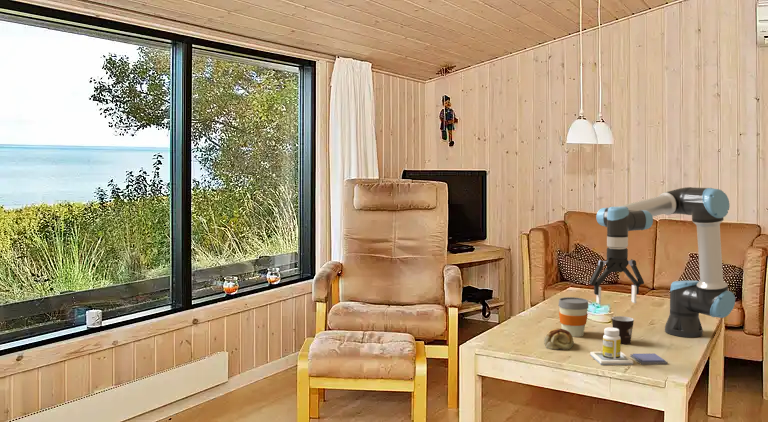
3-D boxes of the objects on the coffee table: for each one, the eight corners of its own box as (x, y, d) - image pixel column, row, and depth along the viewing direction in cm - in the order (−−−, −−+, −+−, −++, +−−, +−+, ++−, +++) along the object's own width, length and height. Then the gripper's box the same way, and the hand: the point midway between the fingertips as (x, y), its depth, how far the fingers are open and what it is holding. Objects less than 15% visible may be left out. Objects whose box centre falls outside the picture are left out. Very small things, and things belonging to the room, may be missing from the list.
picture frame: (620, 355, 259) (620, 351, 259) (633, 364, 247) (633, 360, 247) (590, 355, 258) (590, 351, 258) (601, 365, 247) (601, 361, 246)
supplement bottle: (616, 355, 256) (617, 326, 255) (622, 360, 250) (623, 331, 249) (599, 355, 256) (600, 327, 255) (605, 361, 249) (606, 331, 248)
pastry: (553, 352, 263) (554, 332, 262) (536, 344, 275) (536, 325, 274) (583, 348, 268) (584, 329, 267) (565, 340, 280) (565, 322, 279)
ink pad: (655, 356, 257) (655, 352, 257) (667, 364, 247) (667, 360, 247) (630, 356, 257) (630, 353, 257) (641, 364, 247) (641, 361, 247)
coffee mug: (619, 345, 271) (620, 321, 271) (606, 340, 280) (607, 316, 279) (643, 343, 274) (644, 319, 274) (630, 338, 283) (631, 315, 282)
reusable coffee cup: (584, 330, 295) (585, 297, 294) (590, 338, 283) (591, 303, 281) (555, 330, 296) (556, 296, 295) (560, 337, 284) (561, 303, 283)
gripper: (645, 245, 255) (644, 299, 257) (581, 246, 254) (580, 301, 256) (654, 248, 248) (652, 304, 249) (588, 249, 247) (587, 305, 249)
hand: (616, 302), depth 253 cm, fingers open, 13 cm apart
